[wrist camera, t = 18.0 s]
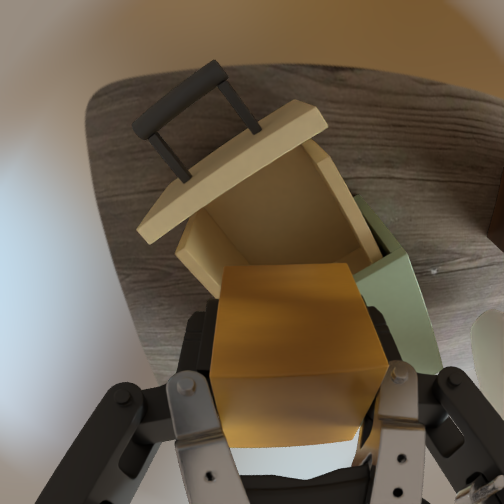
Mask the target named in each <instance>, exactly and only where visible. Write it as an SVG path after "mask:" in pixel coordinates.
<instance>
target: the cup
mask: <svg viewBox="0 0 504 504" xmlns="http://www.w3.org/2000/svg"><path fill="white" fill-rule="evenodd" d="M470 336H471V347H472V353H473V359H474V365H475V371H476V375H477V378H478V382H479V386H480V390H481V392H482V394H483V395H484V396H485V397H486V399H487V400H488V401H489V402H490V404H491V405H492V406H493V407H494V409H495V410H496V411H497V413H498V414H499V415H500V416H501V418H502V419H503V420H504V313H503V312H501V311H498V310H496V309H491V310H488V311H486V312H484V313H483V314H482V315H480V316H479V317H478V318H477V319H476V321H475V322H474V324H473V325H472V327H471V330H470Z"/></svg>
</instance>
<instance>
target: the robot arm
mask: <svg viewBox="0 0 504 504" xmlns="http://www.w3.org/2000/svg"><path fill="white" fill-rule="evenodd" d="M361 297H362V299H363V301H364V304H365V306H366V308H367V311H368V313H369V316H370V318H371V320H372V323H373V325H374V328H375V330H376V333H377V335H378V338H379V340H380V343H381V346H382V348H383V351H384V353H385V356H386V359H387V361H388V364H389V367H388V370H387V372H386V374H385V376H384V379H383V381H382V383H381V385H380V387H379V389H378V391H377V393H376V396H375V398H374V400H373V402H372V404H371V406H370V408H369V410H368V412H367V413H366V415H365V417H364V419H363V421H362V423H361V425H360V431H359V438H358V444H357V450H356V454H355V457H354V460H353V462H352V465H351V467H348V468H341V469H337V470H334V471H332V472H329V473H326V474H324V475H321V476H318V477H315V478H312V479H308V480H302V479H295V478H288V477H282V476H276V475H240V476H239V473H238V470H237V468H236V465H235V462H234V459H233V457H232V454H231V451H230V448H229V445H228V442H227V439H226V436H225V434H224V431H223V430H222V427H221V424H220V421H219V418H218V412H217V408H216V404H215V399H214V395H213V390H212V386H211V381H210V377H209V374H210V366H211V358H212V350H213V342H214V334H215V326H216V319H217V311H218V304H219V299H208V301H207V306H206V312H194V314H193V315H192V316H191V317H190V319H189V320H188V322H187V327H186V333H185V336H184V341H183V345H182V349H181V354H180V358H179V363H178V368H177V372H176V374H174V375H173V376H172V377H171V378H170V379H169V380H168V382H167V383H166V384H164V385H162V386H159V387H156V388H150V389H145V390H141V389H140V388H139V387H138V386H137V385H135V384H133V383H129V382H122V383H119V384H116V385H114V386H113V387H111V388H110V389H109V390H108V391H107V393H106V394H105V396H104V397H103V399H102V400H101V402H100V403H99V404H98V406H97V407H96V409H95V411H94V412H93V413H92V415H91V417H90V418H89V419H88V421H87V422H86V424H85V425H84V427H83V428H82V430H81V431H80V433H79V434H78V436H77V438H76V439H75V441H74V442H73V444H72V445H71V447H70V448H69V450H68V451H67V453H66V454H65V456H64V457H63V459H62V460H61V462H60V464H59V465H58V467H57V468H56V470H55V471H54V473H53V475H52V476H51V478H50V479H49V481H48V483H47V484H46V486H45V488H44V489H43V491H42V492H41V494H40V496H39V497H38V499H37V501H36V502H35V504H130V502H131V500H132V499H133V497H134V495H135V493H136V491H137V489H138V487H139V485H140V483H141V481H142V479H143V478H144V476H145V473H146V472H147V470H148V468H149V466H150V464H151V462H152V460H153V458H154V456H155V454H156V453H157V451H158V449H159V447H160V445H161V443H162V442H164V441H169V440H174V439H176V441H175V450H176V454H177V458H178V463H179V467H180V471H181V475H182V479H183V483H184V486H185V490H186V494H187V497H188V501H189V504H430V503H429V502H428V501H426V500H425V499H423V498H422V491H423V490H422V489H423V479H424V464H425V445H426V446H427V448H428V449H429V451H430V453H431V454H432V456H433V457H434V458H435V460H436V462H437V463H438V465H439V467H440V468H441V470H442V471H443V473H444V474H445V476H446V477H447V479H448V481H449V482H450V484H451V485H452V487H453V489H454V490H455V492H456V493H457V496H456V499H455V503H454V504H504V420H503V419H502V418H501V416H500V415H499V414H498V413H497V411H496V410H495V409H494V407H493V406H492V405H491V404H490V402H489V401H488V400H487V399H486V397H485V396H484V395H483V394H482V392H481V391H480V390H479V389H478V388H477V386H476V385H475V384H474V383H473V381H472V380H471V379H470V378H469V377H468V376H467V374H466V373H465V372H464V371H463V370H461V369H459V368H457V367H452V366H450V367H445V368H443V369H442V370H441V371H440V372H439V374H438V375H430V374H422V373H418V372H416V370H415V369H414V367H413V366H412V365H410V364H409V363H407V362H405V361H403V360H402V358H401V355H400V353H399V351H398V348H397V346H396V344H395V341H394V339H393V337H392V334H391V333H390V330H389V328H388V325H387V323H386V321H385V319H384V316H383V314H382V313H381V312H380V311H379V310H378V309H377V308H376V307H374V306H367V304H366V302H365V300H364V297H363V296H362V295H361ZM449 416H450V417H451V418H452V419H451V418H450V417H449ZM452 420H453V421H454V422H455V424H456V425H457V426H456V425H455V424H454V422H453V421H452ZM457 427H458V428H459V429H460V431H461V432H462V433H461V432H460V431H459V429H458V428H457ZM462 434H463V435H464V436H463V435H462Z"/></svg>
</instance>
